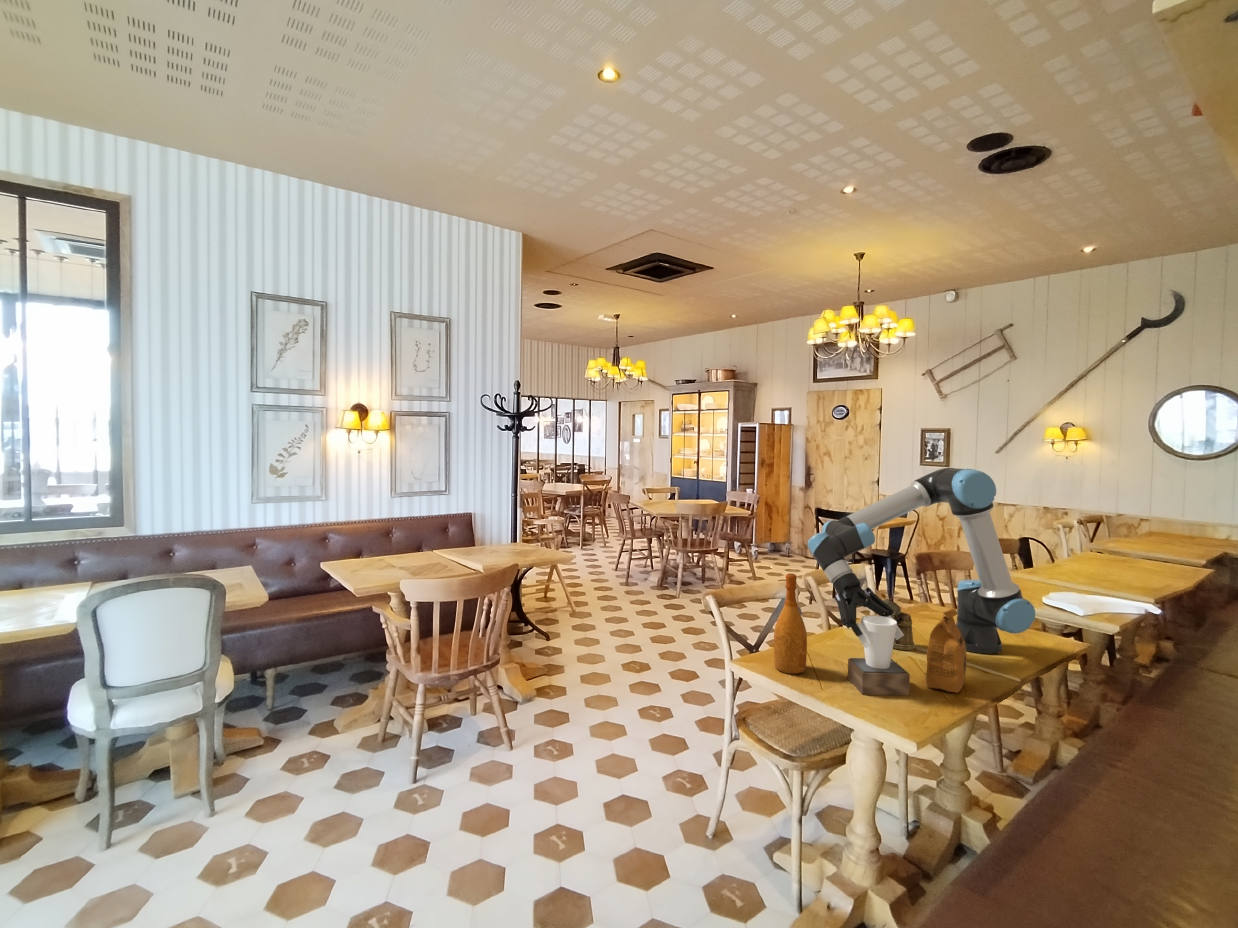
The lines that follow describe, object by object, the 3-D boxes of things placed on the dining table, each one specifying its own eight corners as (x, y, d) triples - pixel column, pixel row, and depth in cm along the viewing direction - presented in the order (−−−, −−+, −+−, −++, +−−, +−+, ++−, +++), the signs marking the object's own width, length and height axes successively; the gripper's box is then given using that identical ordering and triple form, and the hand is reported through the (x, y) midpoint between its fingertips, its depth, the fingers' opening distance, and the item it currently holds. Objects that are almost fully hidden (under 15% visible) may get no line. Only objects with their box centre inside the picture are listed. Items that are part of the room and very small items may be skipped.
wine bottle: (801, 677, 173) (803, 578, 171) (769, 670, 178) (770, 574, 177) (809, 667, 181) (811, 572, 180) (778, 660, 186) (780, 568, 185)
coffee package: (971, 684, 168) (973, 610, 167) (959, 697, 160) (961, 619, 159) (934, 674, 175) (936, 603, 174) (920, 687, 167) (922, 611, 166)
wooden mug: (873, 647, 198) (874, 596, 197) (894, 639, 206) (895, 590, 205) (899, 655, 191) (900, 602, 190) (919, 647, 199) (920, 595, 198)
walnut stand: (891, 678, 172) (892, 657, 172) (909, 695, 161) (909, 672, 161) (847, 678, 173) (848, 657, 172) (862, 694, 162) (862, 671, 161)
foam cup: (900, 664, 167) (901, 620, 166) (889, 673, 160) (890, 627, 160) (866, 655, 173) (867, 613, 173) (855, 664, 167) (856, 620, 166)
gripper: (862, 580, 185) (904, 640, 173) (806, 589, 173) (847, 655, 161) (877, 567, 181) (921, 628, 168) (820, 576, 169) (863, 642, 156)
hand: (885, 641), depth 164 cm, fingers open, 13 cm apart
